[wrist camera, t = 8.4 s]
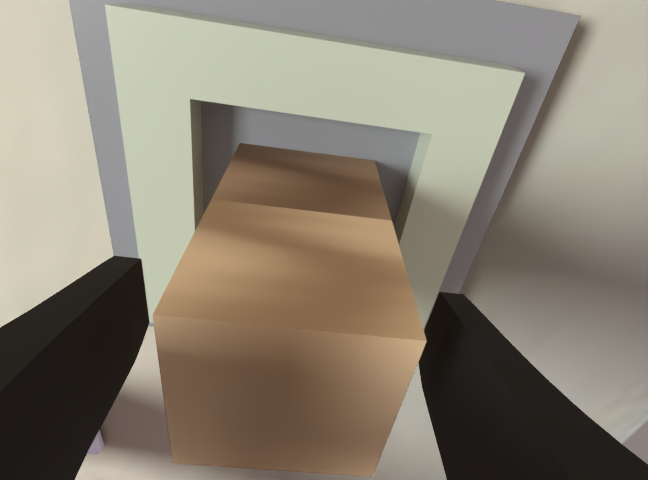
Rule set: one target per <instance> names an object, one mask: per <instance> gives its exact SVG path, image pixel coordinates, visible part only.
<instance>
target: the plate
mask: <svg viewBox="0 0 648 480" xmlns="http://www.w3.org/2000/svg"><path fill="white" fill-rule="evenodd" d="M69 3H70V9H71V14H72V20H73V26H74V31H75V37H76V43H77V49H78V54H79V60H80V66H81V71H82V77H83V83H84V88H85V94H86V100H87V105H88V111H89V117H90V122H91V128H92V134H93V139H94V145H95V151H96V156H97V162H98V168H99V174H100V179H101V185H102V191H103V196H104V202H105V208H106V213H107V219H108V225H109V230H110V236H111V242H112V247H113V253H114V256H122V257H131V258H140V259H141V260H142V267H143V275H144V283H145V291H146V298H147V306H148V314H149V325H148V326H154V323H153V313H154V311H155V309H156V307H157V305H158V303H159V301H160V299H161V297H162V295H163V293H164V291H165V289H166V287H167V285H168V283H169V281H170V280H171V278H172V276H173V274H174V272H175V270H176V268H177V266H178V264H179V262H180V260H181V258H182V256H183V254H184V252H185V250H186V248H187V246H188V244H189V242H190V240H191V238H192V236H193V234H194V232H195V230H196V228H197V226H198V224H199V223H200V221H201V219H202V217H203V215H204V213H205V211H206V209H207V207H208V205H209V203H210V201H211V199H212V197H213V195H214V193H215V191H216V189H217V187H218V185H219V183H220V181H221V179H222V177H223V175H224V173H225V171H226V169H227V167H228V166H229V164H230V162H231V160H232V158H233V156H234V154H235V152H236V150H237V148H238V146H239V144H240V143H244V144H252V145H260V146H267V147H275V148H283V149H290V150H298V151H306V152H313V153H321V154H329V155H336V156H344V157H352V158H359V159H367V160H375V164H376V167H377V171H378V174H379V178H380V181H381V185H382V188H383V192H384V195H385V198H386V202H387V205H388V209H389V212H390V216H391V219H392V223H393V226H394V230H395V233H396V236H397V240H398V243H399V247H400V250H401V254H402V257H403V261H404V264H405V268H406V271H407V274H408V278H409V281H410V285H411V288H412V292H413V295H414V299H415V302H416V306H417V309H418V312H419V316H420V319H421V323H422V326H423V330H424V329H425V327H426V324H427V322H428V319H429V317H430V314H431V312H432V309H433V307H434V304H435V302H436V299H437V296H438V294H439V292H447V293H456V294H459V293H460V291H461V289H462V286H463V284H464V282H465V280H466V277H467V275H468V273H469V270H470V268H471V266H472V264H473V261H474V259H475V257H476V254H477V252H478V250H479V247H480V245H481V243H482V241H483V238H484V236H485V234H486V231H487V229H488V227H489V225H490V222H491V220H492V218H493V215H494V213H495V211H496V208H497V206H498V204H499V202H500V199H501V197H502V195H503V192H504V190H505V188H506V186H507V183H508V181H509V179H510V176H511V174H512V172H513V169H514V167H515V165H516V163H517V160H518V158H519V156H520V153H521V151H522V149H523V147H524V144H525V142H526V140H527V137H528V135H529V133H530V130H531V128H532V126H533V124H534V121H535V119H536V117H537V114H538V112H539V110H540V108H541V105H542V103H543V101H544V98H545V96H546V94H547V92H548V89H549V87H550V85H551V82H552V80H553V78H554V75H555V73H556V71H557V69H558V66H559V64H560V62H561V59H562V57H563V55H564V53H565V50H566V48H567V46H568V43H569V41H570V39H571V36H572V34H573V32H574V30H575V27H576V25H577V23H578V20H579V18H580V16H578V15H573V14H567V13H561V12H556V11H550V10H544V9H539V8H533V7H527V6H522V5H516V4H510V3H505V2H499V1H493V0H69Z"/></svg>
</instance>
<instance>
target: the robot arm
mask: <svg viewBox="0 0 648 480" xmlns="http://www.w3.org/2000/svg"><path fill="white" fill-rule="evenodd" d="M148 325H149V314H148V306H147V298H146V291H145V283H144V275H143V267H142V260H141V259H140V258H131V257H122V256H113V257H112V258H110V259H108V260H107V261H105V262H103V263H102V264H100V265H99V266H97V267H96V268H94V269H93V270H91V271H90V272H88V273H87V274H85V275H84V276H82V277H80V278H79V279H77V280H76V281H74V282H73V283H71V284H70V285H68V286H67V287H65V288H64V289H62V290H61V291H59V292H57V293H56V294H54V295H53V296H51V297H50V298H48V299H47V300H45V301H43V302H42V303H40V304H39V305H37V306H36V307H34V308H32V309H31V310H29V311H28V312H26V313H24V314H23V315H21V316H19V317H18V318H16V319H14V320H12V321H11V322H9V323H7V324H6V325H4V326H2V327H1V328H0V480H75V477H76V475H77V473H78V471H79V469H80V467H81V465H82V463H83V460H84V458H85V456H86V454H98V453H100V452H101V451H102V449H103V447H104V443H103V440H102V436H101V433H100V428H101V426H102V424H103V422H104V420H105V418H106V416H107V414H108V412H109V410H110V409H111V407H112V405H113V403H114V401H115V399H116V397H117V395H118V393H119V391H120V390H121V388H122V386H123V384H124V382H125V380H126V378H127V376H128V374H129V372H130V370H131V368H132V366H133V364H134V362H135V360H136V358H137V355H138V352H139V350H140V347H141V345H142V342H143V339H144V336H145V333H146V331H147V328H148ZM424 333H425V337H426V340H427V342H426V344H425V347H424V349H423V352H422V354H421V357H420V359H419V369H420V376H421V382H422V388H423V392H424V396H425V400H426V403H427V407H428V411H429V415H430V419H431V422H432V426H433V430H434V433H435V437H436V441H437V444H438V448H439V452H440V455H441V459H442V463H443V466H444V470H445V474H446V477H447V480H648V464H646V463H645V462H644V461H642V460H641V459H640V458H639V457H637V456H636V455H635V454H634V453H632V452H631V451H630V450H628V449H627V448H626V447H625V446H623V445H622V444H621V443H620V442H618V441H617V440H616V439H615V438H614V437H612V436H611V435H610V434H609V433H607V432H606V431H605V430H604V429H603V428H601V427H600V426H599V425H598V424H597V423H595V422H594V421H593V420H592V419H591V418H589V417H588V416H587V415H586V414H585V413H584V412H582V411H581V410H580V409H579V408H578V407H577V406H576V405H574V404H573V403H572V402H571V401H570V400H569V399H568V398H567V397H566V396H565V395H564V394H562V393H561V392H560V391H559V390H558V389H557V388H556V387H555V386H554V385H553V384H552V383H551V382H549V381H548V380H547V379H546V378H545V377H544V376H543V375H542V374H541V373H540V372H539V371H538V370H537V369H536V368H535V367H534V366H533V365H532V364H531V363H530V362H529V361H528V360H527V359H526V358H525V357H524V356H523V355H522V354H521V353H520V352H519V351H518V350H517V349H516V348H515V347H514V346H513V345H512V344H511V343H510V342H509V341H508V340H507V339H506V338H505V337H504V336H503V335H502V334H501V333H500V331H499V330H498V329H497V328H496V327H495V326H494V325H493V324H492V323H491V322H490V321H489V320H488V319H487V318H486V317H485V316H484V315H483V314H482V313H481V312H480V311H479V310H478V308H477V307H476V306H475V305H474V304H473V303H472V302H471V301H470V300H469V299H467V298H466V297H465V296H464V295H463V294H456V293H447V292H439V294H438V296H437V299H436V302H435V304H434V307H433V309H432V312H431V314H430V317H429V319H428V322H427V324H426V327H425V329H424Z"/></svg>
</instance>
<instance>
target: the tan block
mask: <svg viewBox="0 0 648 480" xmlns="http://www.w3.org/2000/svg"><path fill="white" fill-rule="evenodd" d="M153 323H154V330H155V337H156V345H157V352H158V360H159V367H160V374H161V382H162V389H163V397H164V404H165V411H166V419H167V426H168V434H169V441H170V449H171V456H172V463H177V464H192V465H207V466H222V467H237V468H251V469H266V470H281V471H296V472H311V473H325V474H340V475H355V476H370V477H373V474H374V472H375V469H376V467H377V464H378V462H379V459H380V457H381V454H382V452H383V449H384V447H385V444H386V442H387V439H388V437H389V434H390V432H391V429H392V427H393V424H394V422H395V419H396V417H397V414H398V412H399V409H400V407H401V404H402V402H403V399H404V397H405V394H406V392H407V389H408V387H409V384H410V382H411V379H412V377H413V374H414V372H415V369H416V367H417V364H418V362H419V359H420V357H421V354H422V352H423V349H424V347H425V344H426V342H427V340H426V337H425V333H424V330H423V326H422V323H421V319H420V316H419V312H418V309H417V306H416V302H415V299H414V295H413V292H412V288H411V285H410V281H409V278H408V274H407V271H406V268H405V264H404V261H403V257H402V254H401V250H400V247H399V243H398V240H397V236H396V233H395V230H394V226H393V223H392V219H391V216H390V212H389V209H388V205H387V202H386V198H385V195H384V192H383V188H382V185H381V181H380V178H379V174H378V171H377V167H376V164H375V160H367V159H359V158H352V157H344V156H336V155H329V154H321V153H313V152H306V151H298V150H290V149H283V148H275V147H267V146H260V145H252V144H244V143H240V144H239V146H238V148H237V150H236V152H235V154H234V156H233V158H232V160H231V162H230V164H229V166H228V167H227V169H226V171H225V173H224V175H223V177H222V179H221V181H220V183H219V185H218V187H217V189H216V191H215V193H214V195H213V197H212V199H211V201H210V203H209V205H208V207H207V209H206V211H205V213H204V215H203V217H202V219H201V221H200V223H199V224H198V226H197V228H196V230H195V232H194V234H193V236H192V238H191V240H190V242H189V244H188V246H187V248H186V250H185V252H184V254H183V256H182V258H181V260H180V262H179V264H178V266H177V268H176V270H175V272H174V274H173V276H172V278H171V280H170V281H169V283H168V285H167V287H166V289H165V291H164V293H163V295H162V297H161V299H160V301H159V303H158V305H157V307H156V309H155V311H154V313H153Z"/></svg>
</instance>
